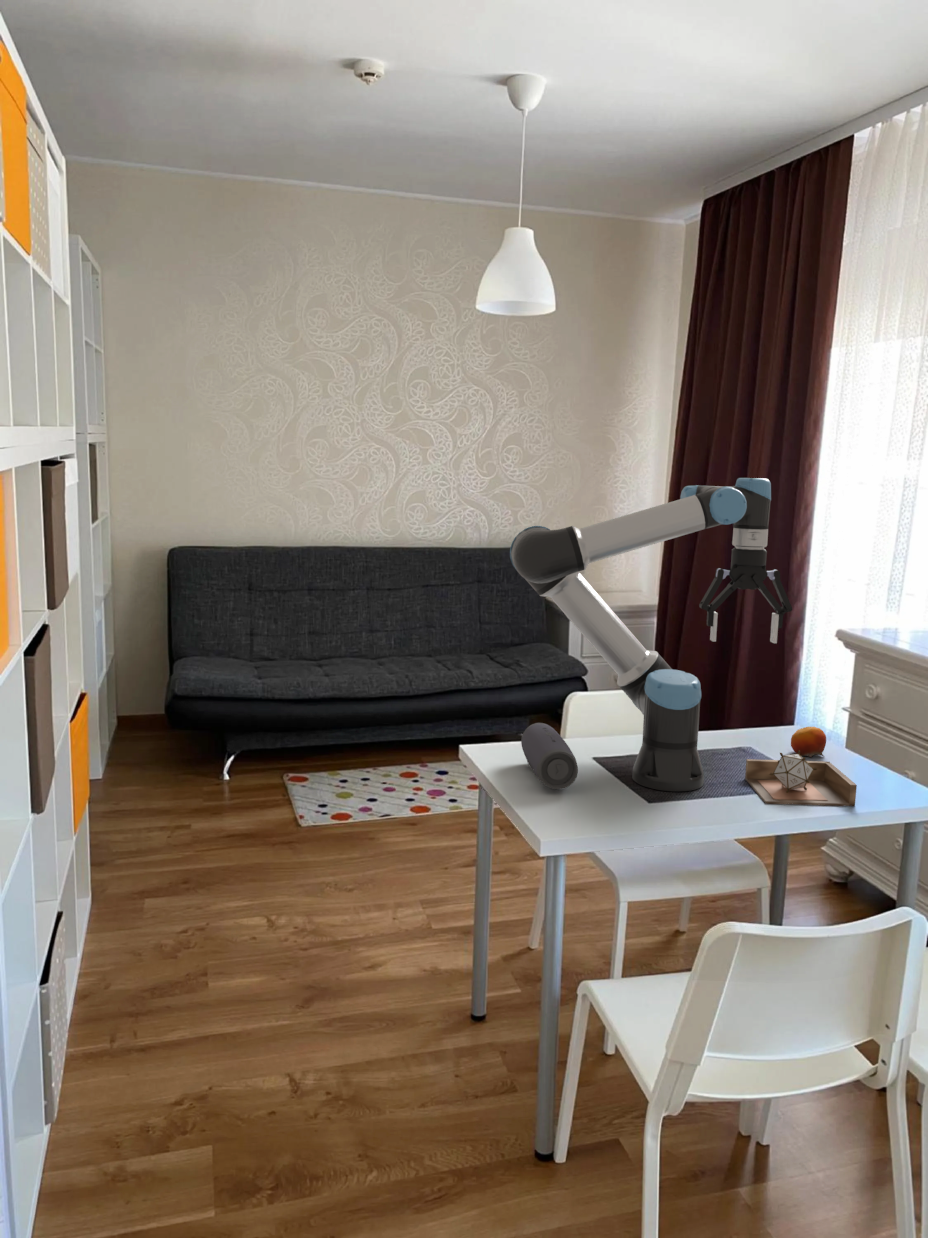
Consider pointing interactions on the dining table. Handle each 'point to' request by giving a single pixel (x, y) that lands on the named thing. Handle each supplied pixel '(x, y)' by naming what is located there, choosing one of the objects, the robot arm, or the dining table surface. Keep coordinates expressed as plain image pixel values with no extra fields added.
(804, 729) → the fruit
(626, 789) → the dining table surface
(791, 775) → the game die
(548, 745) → the bluetooth speaker
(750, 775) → the brown wooden tray
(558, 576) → the robot arm
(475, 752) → the dining table surface
